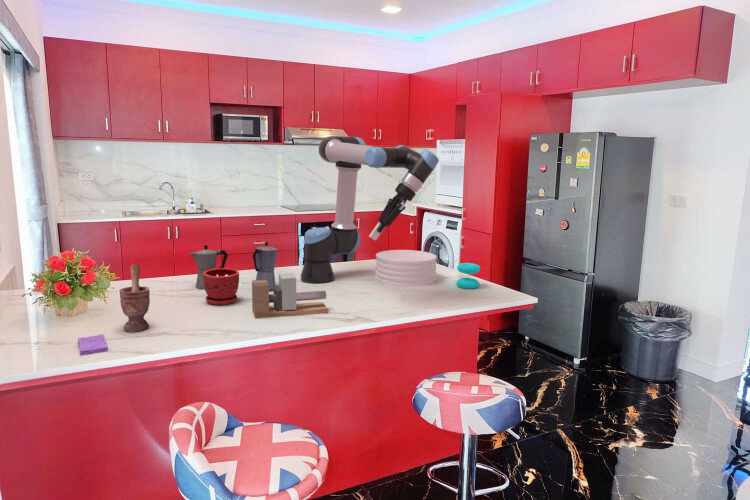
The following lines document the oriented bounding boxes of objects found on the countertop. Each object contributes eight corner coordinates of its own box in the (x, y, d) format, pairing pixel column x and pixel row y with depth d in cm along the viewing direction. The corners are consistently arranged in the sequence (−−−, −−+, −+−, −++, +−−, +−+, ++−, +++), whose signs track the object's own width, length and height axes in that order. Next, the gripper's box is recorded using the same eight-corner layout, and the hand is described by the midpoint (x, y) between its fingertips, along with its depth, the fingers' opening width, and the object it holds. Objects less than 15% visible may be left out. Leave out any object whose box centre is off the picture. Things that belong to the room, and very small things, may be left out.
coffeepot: (191, 290, 214) (189, 247, 211) (190, 285, 223) (188, 244, 220) (230, 287, 220) (229, 246, 217) (227, 282, 229) (226, 242, 225)
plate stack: (445, 278, 247) (446, 254, 245) (417, 290, 224) (418, 264, 222) (394, 270, 262) (395, 247, 260) (363, 280, 239) (364, 256, 237)
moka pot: (284, 286, 225) (283, 240, 221) (265, 295, 210) (264, 246, 207) (264, 284, 228) (264, 239, 224) (245, 292, 213) (244, 244, 210)
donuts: (464, 261, 237) (484, 264, 231) (462, 282, 238) (482, 286, 232) (453, 264, 229) (473, 268, 223) (452, 286, 230) (472, 290, 225)
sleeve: (279, 304, 191) (278, 273, 189) (292, 303, 193) (292, 273, 191) (282, 310, 184) (281, 278, 182) (296, 309, 185) (296, 278, 183)
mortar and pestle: (116, 324, 171) (112, 265, 167) (144, 320, 176) (140, 262, 173) (126, 334, 162) (122, 272, 158) (155, 329, 168) (151, 268, 164)
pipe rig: (252, 310, 189) (251, 280, 187) (322, 305, 197) (322, 276, 195) (254, 318, 181) (254, 286, 179) (327, 312, 189) (328, 282, 187)
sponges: (80, 357, 145) (80, 350, 145) (77, 343, 155) (77, 337, 155) (108, 352, 149) (108, 346, 148) (104, 339, 159) (103, 333, 159)
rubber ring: (273, 304, 190) (273, 286, 189) (279, 304, 191) (279, 286, 189) (276, 310, 184) (276, 291, 182) (282, 309, 184) (281, 290, 183)
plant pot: (196, 304, 196) (195, 273, 194) (219, 295, 208) (218, 266, 206) (225, 308, 191) (224, 276, 189) (246, 299, 203) (246, 269, 201)
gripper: (422, 195, 191) (384, 247, 192) (409, 190, 203) (374, 239, 204) (407, 184, 189) (369, 237, 189) (395, 179, 201) (359, 229, 201)
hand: (372, 238), depth 197 cm, fingers closed
